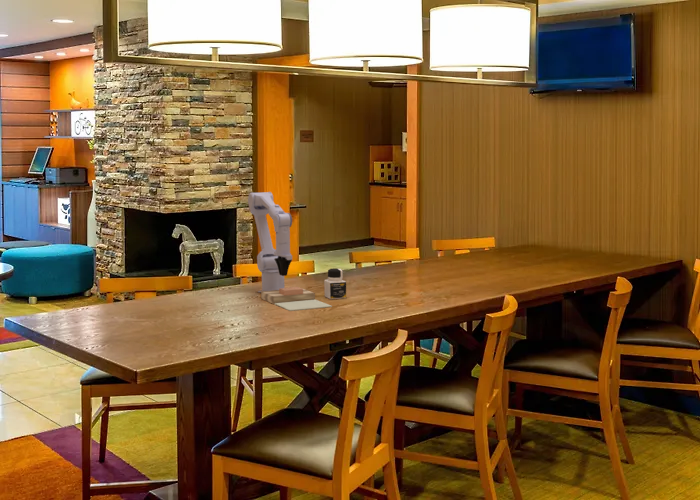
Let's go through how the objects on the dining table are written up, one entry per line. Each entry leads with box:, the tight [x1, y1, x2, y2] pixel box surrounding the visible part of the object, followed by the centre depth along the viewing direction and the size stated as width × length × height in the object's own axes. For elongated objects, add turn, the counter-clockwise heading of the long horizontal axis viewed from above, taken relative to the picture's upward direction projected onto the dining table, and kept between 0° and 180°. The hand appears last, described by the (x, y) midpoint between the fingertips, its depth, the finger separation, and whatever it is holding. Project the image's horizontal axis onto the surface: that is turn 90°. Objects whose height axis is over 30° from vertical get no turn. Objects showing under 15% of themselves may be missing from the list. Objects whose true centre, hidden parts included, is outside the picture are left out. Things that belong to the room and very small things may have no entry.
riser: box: [260, 288, 316, 305], centre depth 371 cm, size 14×18×3 cm
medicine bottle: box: [323, 267, 347, 300], centre depth 375 cm, size 7×7×12 cm
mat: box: [273, 299, 333, 312], centre depth 358 cm, size 16×18×1 cm
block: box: [279, 286, 304, 295], centre depth 368 cm, size 6×8×2 cm
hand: (283, 275), depth 374 cm, fingers closed
